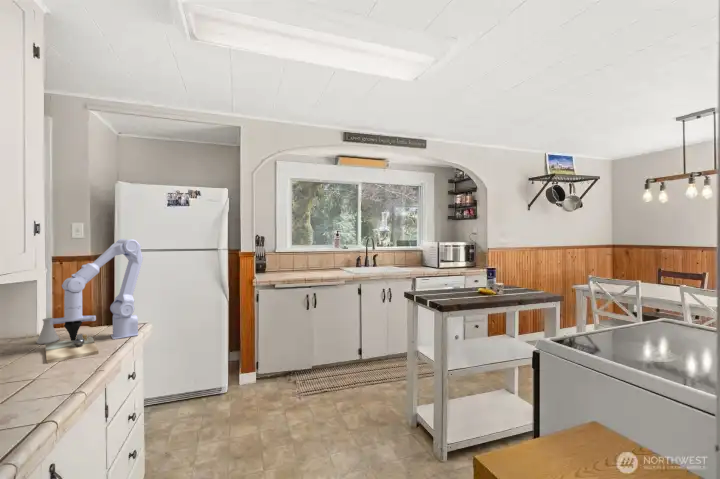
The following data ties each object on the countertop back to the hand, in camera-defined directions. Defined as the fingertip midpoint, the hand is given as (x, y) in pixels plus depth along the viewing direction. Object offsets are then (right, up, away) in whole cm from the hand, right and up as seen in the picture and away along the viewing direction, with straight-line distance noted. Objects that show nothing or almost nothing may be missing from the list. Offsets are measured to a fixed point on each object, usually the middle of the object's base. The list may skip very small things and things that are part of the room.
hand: (73, 339), depth 143 cm
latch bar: (+3, -1, 0) cm, 3 cm away
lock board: (+3, -3, -5) cm, 6 cm away
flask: (-16, -3, +6) cm, 17 cm away
